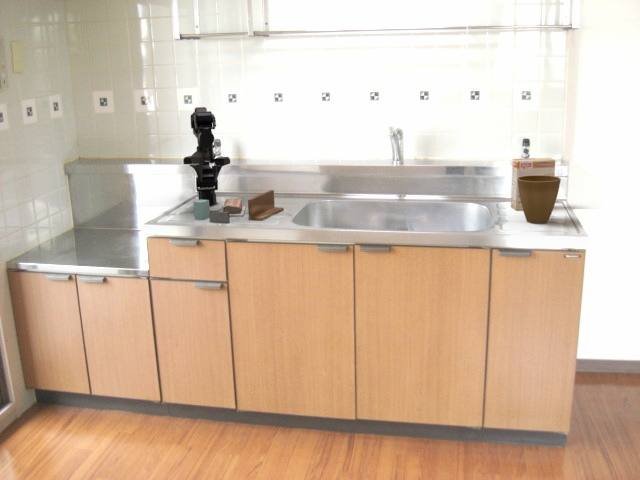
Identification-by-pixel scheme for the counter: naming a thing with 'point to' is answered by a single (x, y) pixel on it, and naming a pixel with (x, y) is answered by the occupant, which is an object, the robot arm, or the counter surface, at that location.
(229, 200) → the packaged product
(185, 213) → the counter surface
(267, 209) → the walnut bookend
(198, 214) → the pale teal block
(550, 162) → the coffeecake box
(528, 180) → the plant pot
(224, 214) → the block
